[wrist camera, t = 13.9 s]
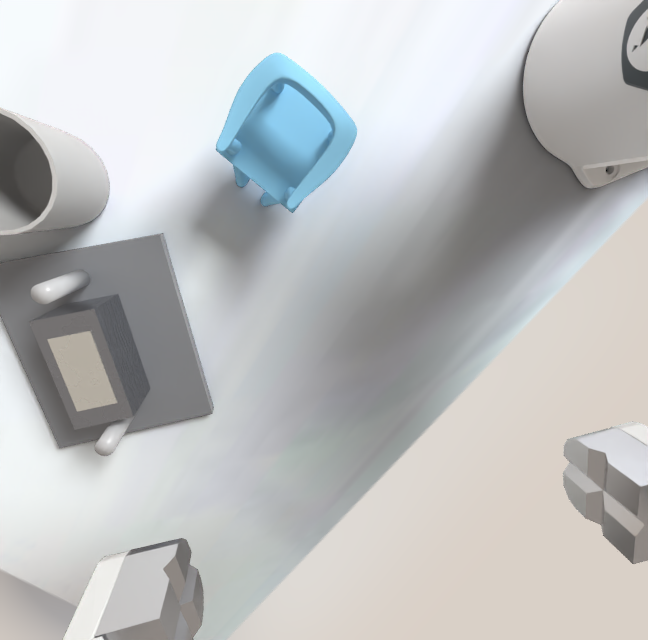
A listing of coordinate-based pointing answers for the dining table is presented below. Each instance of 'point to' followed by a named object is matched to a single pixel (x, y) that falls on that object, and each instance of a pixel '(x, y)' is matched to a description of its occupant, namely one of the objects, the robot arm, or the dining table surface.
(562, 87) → the robot arm
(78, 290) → the grey peg base
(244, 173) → the chair
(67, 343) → the block
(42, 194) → the cup
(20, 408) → the dining table surface
